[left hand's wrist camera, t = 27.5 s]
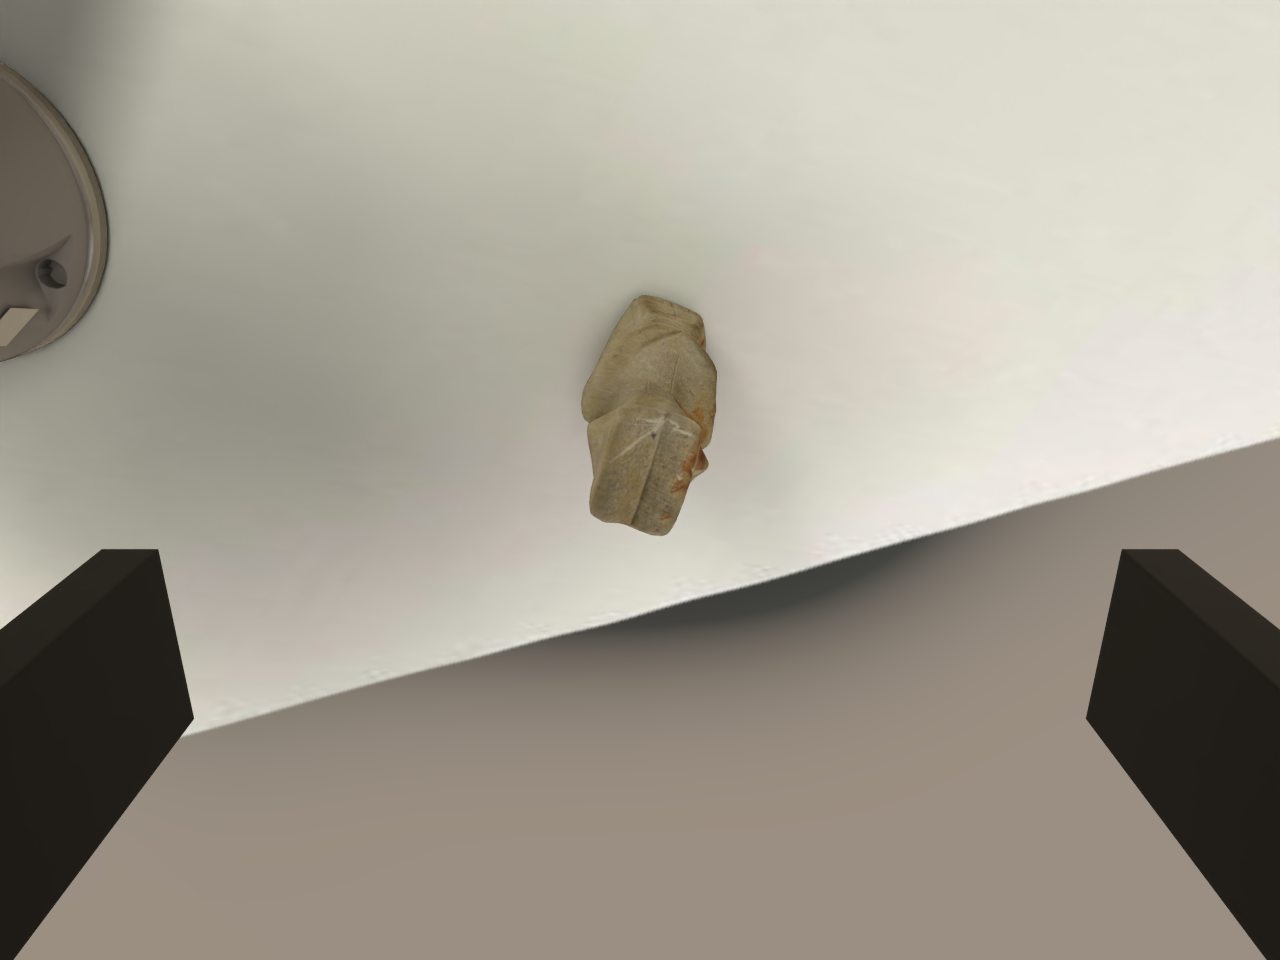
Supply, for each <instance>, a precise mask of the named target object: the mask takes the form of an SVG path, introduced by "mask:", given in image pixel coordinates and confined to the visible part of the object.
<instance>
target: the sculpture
mask: <svg viewBox="0 0 1280 960" xmlns="http://www.w3.org/2000/svg"><path fill="white" fill-rule="evenodd" d="M716 382H717V371H716V368H715V365H714V363H713V362H712V360H711V359H710V357H709V355H708V354H707V353H706V339H705V329H704V324H703V320H702V318H701V316H700V315H699V314H697V313H695V312H693V311H691V310H689V309H687V308H684V307H682V306H679V305H677V304H674V303H672V302H669V301H666V300H663V299H659V298H656V297H652V296H645V295H644V296H641V297H639V298H638V299H635V300H634V301H633V302H632V303H631V305H630V307H629V309H628V310H627V311H626V312H625V314H624V315H623V316H622V318H621V319H620V321H619V322H618V324H617V326H616V328H615V329H614V331H613V333H612V335H611V337H610V339H609V341H608V344H607V346H606V348H605V350H604V352H603V353H602V355H601V357H600V359H599V361H598V363H597V365H596V367H595V369H594V371H593V373H592V375H591V376H590V378H589V379H588V381H587V383H586V385H585V387H584V391H583V395H582V414H583V417H584V419H585V420H586V421H587V422H589V423H590V424H589V425H588V429H587V436H588V443H589V448H590V454H591V460H592V467H593V475H594V480H593V483H592V487H591V492H590V501H589V504H590V512H591V514H592V515H593V516H594V517H596V518H598V519H599V520H601V521H603V522H608V523H621V524H625V525H628V526H630V527H632V528H635V529H637V530H639V531H642V532H645V533H647V534H650V535H656V536H663V535H666V534H668V533H669V532H670V530H671V529H672V527H673V525H674V523H675V522H676V520H677V517H678V515H679V512H680V509H681V507H682V504H683V502H684V499H685V496H686V493H687V489H688V486H689V484H690V482H691V481H692V480H693V479H694V478H695V477H696V476H698V475H700V474H701V473H703V472H704V471H705V470H706V469H707V468H708V460H707V458H706V456H705V454H704V452H703V450H702V449H704V448H705V447H707V446H708V444H709V443H710V441H711V437H712V431H713V424H714V417H715V413H716Z"/></svg>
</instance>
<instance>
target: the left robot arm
mask: <svg viewBox="0 0 1280 960" xmlns="http://www.w3.org/2000/svg"><path fill="white" fill-rule="evenodd" d="M106 251H107V225H106V215H105V210H104V204H103V199H102V196H101V192H100V189H99V185H98V182H97V180H96V177H95V174H94V171H93V169H92V167H91V164H90V162H89V160H88V158H87V156H86V154H85V152H84V150H83V148H82V147H81V145H80V143H79V141H78V140H77V138H76V136H75V135H74V133H73V132H72V130H71V129H70V127H69V126H68V125H67V123H66V122H65V120H64V119H63V118H62V117H61V115H60V114H59V113H58V112H57V110H56V109H55V108H54V107H53V106H52V105H51V104H50V103H49V101H48V100H47V99H46V98H45V97H44V96H43V95H42V94H41V93H40V92H39V91H38V90H37V89H35V88H34V87H33V86H32V85H31V84H30V83H29V82H28V81H27V80H25V79H24V78H23V77H21V76H20V75H19V74H17V73H16V72H15V71H14V70H12V69H11V68H9V67H8V66H6V65H5V64H3V63H2V62H0V362H1V361H5V360H8V359H12V358H15V357H17V356H20V355H23V354H25V353H28V352H31V351H33V350H36V349H38V348H41V347H43V346H45V345H47V344H49V343H50V342H52V341H54V340H56V339H57V338H59V337H60V336H61V335H63V334H64V333H65V332H67V331H68V330H69V329H70V328H71V327H72V326H73V325H74V324H75V323H76V322H77V321H78V320H79V319H80V317H81V316H82V315H83V314H84V313H85V311H86V309H87V308H88V306H89V305H90V303H91V302H92V300H93V298H94V296H95V293H96V291H97V289H98V286H99V284H100V281H101V278H102V274H103V270H104V266H105V260H106ZM193 719H194V716H193V711H192V707H191V702H190V697H189V693H188V688H187V683H186V678H185V674H184V669H183V664H182V660H181V655H180V650H179V645H178V641H177V636H176V631H175V627H174V622H173V617H172V612H171V608H170V603H169V598H168V594H167V589H166V584H165V579H164V575H163V570H162V565H161V561H160V556H159V551H158V549H102V550H100V551H99V552H98V553H97V554H95V555H94V556H93V557H92V558H90V559H89V560H88V561H86V562H85V563H84V564H83V565H81V566H80V567H79V568H78V569H76V570H75V571H74V572H73V573H71V574H70V575H69V576H68V577H66V578H65V579H64V580H62V581H61V582H60V583H59V584H57V585H56V586H55V587H54V588H52V589H51V590H50V591H49V592H47V593H46V594H45V595H44V596H42V597H41V598H40V599H38V600H37V601H36V602H35V603H33V604H32V605H31V606H30V607H28V608H27V609H26V610H25V611H23V612H22V613H21V614H19V615H18V616H17V617H16V618H14V619H13V620H12V621H11V622H9V623H8V624H7V625H6V626H4V627H3V628H2V629H1V630H0V960H14V958H15V957H16V956H17V954H18V953H19V952H20V950H21V949H22V947H23V946H24V945H25V944H26V942H27V941H28V940H29V938H30V937H31V936H32V934H33V933H34V932H35V930H36V929H37V928H38V926H39V925H40V924H41V922H42V921H43V920H44V918H45V917H46V916H47V914H48V913H49V911H50V910H51V909H52V908H53V906H54V905H55V903H56V902H57V901H58V900H59V898H60V897H61V895H62V894H63V893H64V892H65V890H66V889H67V888H68V886H69V885H70V884H71V882H72V881H73V880H74V878H75V877H76V875H77V874H78V873H79V871H80V870H81V869H82V868H83V866H84V865H85V864H86V862H87V861H88V859H89V858H90V857H91V856H92V854H93V853H94V851H95V850H96V849H97V848H98V846H99V845H100V843H101V842H102V841H103V840H104V838H105V837H106V836H107V834H108V833H109V832H110V830H111V829H112V828H113V826H114V825H115V823H116V822H117V821H118V819H119V818H120V817H121V815H122V814H123V813H124V811H125V810H126V809H127V807H128V806H129V805H130V803H131V802H132V801H133V799H134V798H135V797H136V795H137V794H138V793H139V791H140V790H141V789H142V787H143V786H144V785H145V783H146V782H147V781H148V779H149V778H150V777H151V775H152V774H153V773H154V771H155V770H156V769H157V767H158V766H159V765H160V763H161V762H162V761H163V759H164V758H165V757H166V755H167V754H168V753H169V751H170V750H171V749H172V747H173V746H174V745H175V743H176V742H177V741H178V739H179V738H180V737H181V735H182V734H183V733H184V731H185V730H186V729H187V727H188V726H189V725H190V723H191V722H192V721H193ZM1086 719H1087V721H1088V722H1089V723H1090V725H1091V726H1092V727H1093V729H1094V730H1095V731H1096V733H1097V734H1098V735H1099V737H1100V738H1101V739H1102V741H1103V742H1104V743H1105V745H1106V746H1107V747H1108V749H1109V750H1110V751H1111V753H1112V754H1113V755H1114V757H1115V758H1116V759H1117V761H1118V762H1119V763H1120V765H1121V766H1122V767H1123V769H1124V770H1125V771H1126V773H1127V774H1128V775H1129V777H1130V778H1131V779H1132V781H1133V782H1134V783H1135V785H1136V786H1137V787H1138V789H1139V790H1140V791H1141V793H1142V794H1143V795H1144V797H1145V798H1146V799H1147V801H1148V802H1149V803H1150V805H1151V806H1152V807H1153V809H1154V810H1155V811H1156V813H1157V814H1158V815H1159V817H1160V818H1161V819H1162V821H1163V822H1164V823H1165V825H1166V826H1167V827H1168V829H1169V830H1170V832H1171V833H1172V834H1173V836H1174V837H1175V838H1176V839H1177V841H1178V842H1179V843H1180V845H1181V846H1182V848H1183V849H1184V850H1185V851H1186V853H1187V854H1188V855H1189V857H1190V858H1191V860H1192V861H1193V862H1194V864H1195V865H1196V866H1197V867H1198V869H1199V870H1200V872H1201V873H1202V874H1203V876H1204V877H1205V878H1206V880H1207V881H1208V882H1209V884H1210V885H1211V886H1212V888H1213V889H1214V890H1215V892H1216V893H1217V894H1218V896H1219V897H1220V898H1221V900H1222V901H1223V902H1224V904H1225V905H1226V906H1227V908H1228V909H1229V910H1230V912H1231V913H1232V914H1233V916H1234V917H1235V918H1236V920H1237V921H1238V922H1239V923H1240V925H1241V926H1242V928H1243V929H1244V930H1245V932H1246V933H1247V934H1248V936H1249V937H1250V938H1251V940H1252V941H1253V942H1254V944H1255V945H1256V946H1257V948H1258V949H1259V950H1260V952H1261V953H1262V954H1263V955H1264V957H1265V958H1266V959H1267V960H1280V630H1279V629H1278V628H1277V627H1276V626H1274V625H1273V624H1272V623H1271V622H1269V621H1268V620H1267V619H1266V618H1264V617H1263V616H1262V615H1261V614H1259V613H1258V612H1257V611H1255V610H1254V609H1253V608H1252V607H1250V606H1249V605H1248V604H1247V603H1245V602H1244V601H1243V600H1242V599H1240V598H1239V597H1238V596H1236V595H1235V594H1234V593H1233V592H1231V591H1230V590H1229V589H1228V588H1226V587H1225V586H1224V585H1222V584H1221V583H1220V582H1219V581H1218V580H1216V579H1215V578H1214V577H1212V576H1211V575H1210V574H1209V573H1207V572H1206V571H1205V570H1204V569H1202V568H1201V567H1200V566H1199V565H1197V564H1196V563H1195V562H1194V561H1192V560H1191V559H1190V558H1188V557H1187V556H1186V555H1185V554H1183V553H1182V552H1181V551H1180V550H1178V549H1122V551H1121V556H1120V561H1119V565H1118V570H1117V575H1116V579H1115V584H1114V589H1113V594H1112V598H1111V603H1110V608H1109V613H1108V617H1107V622H1106V627H1105V631H1104V636H1103V641H1102V646H1101V650H1100V655H1099V660H1098V664H1097V669H1096V674H1095V678H1094V683H1093V688H1092V693H1091V697H1090V702H1089V707H1088V711H1087V716H1086Z"/></svg>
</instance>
